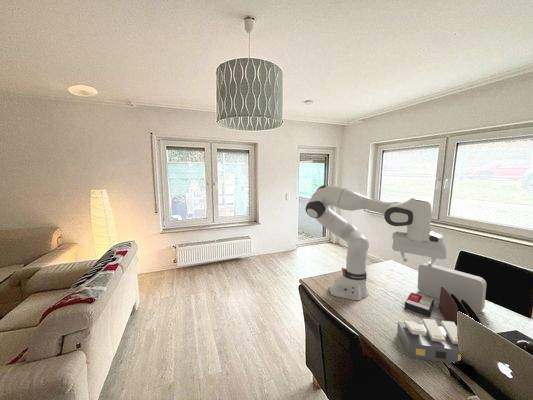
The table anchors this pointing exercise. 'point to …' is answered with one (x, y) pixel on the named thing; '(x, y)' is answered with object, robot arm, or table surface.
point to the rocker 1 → (414, 328)
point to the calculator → (419, 304)
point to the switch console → (428, 345)
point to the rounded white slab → (452, 285)
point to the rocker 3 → (450, 330)
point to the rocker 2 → (433, 330)
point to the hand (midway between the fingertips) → (417, 263)
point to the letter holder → (454, 307)
